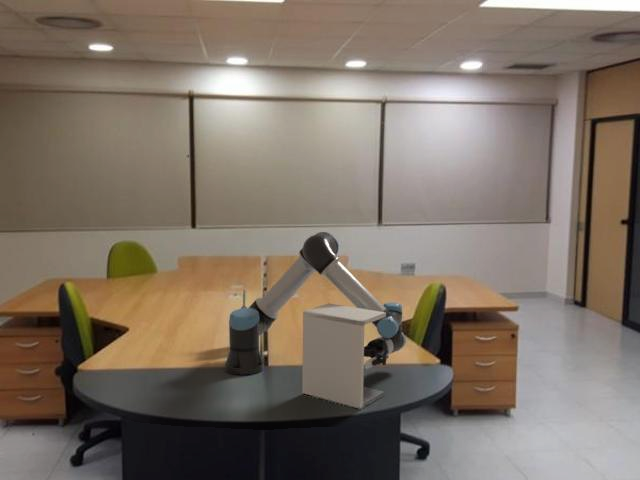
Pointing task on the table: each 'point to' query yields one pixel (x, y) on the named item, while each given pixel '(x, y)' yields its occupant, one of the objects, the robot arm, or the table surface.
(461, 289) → the table surface
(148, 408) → the table surface
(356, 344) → the shelf unit
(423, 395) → the table surface
